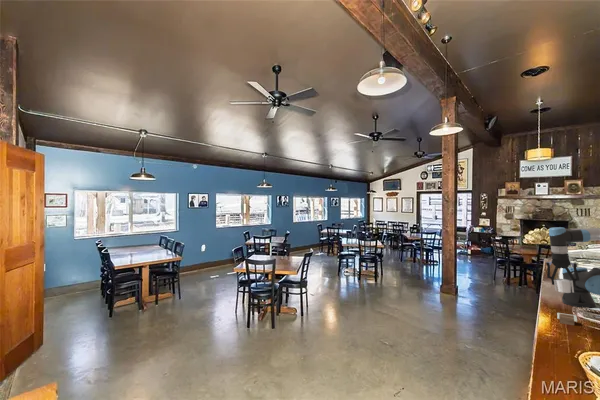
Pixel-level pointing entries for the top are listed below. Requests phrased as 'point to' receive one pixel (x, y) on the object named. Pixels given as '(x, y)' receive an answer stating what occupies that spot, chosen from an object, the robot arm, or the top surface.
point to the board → (567, 314)
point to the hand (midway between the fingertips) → (564, 291)
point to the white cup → (563, 285)
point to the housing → (566, 319)
